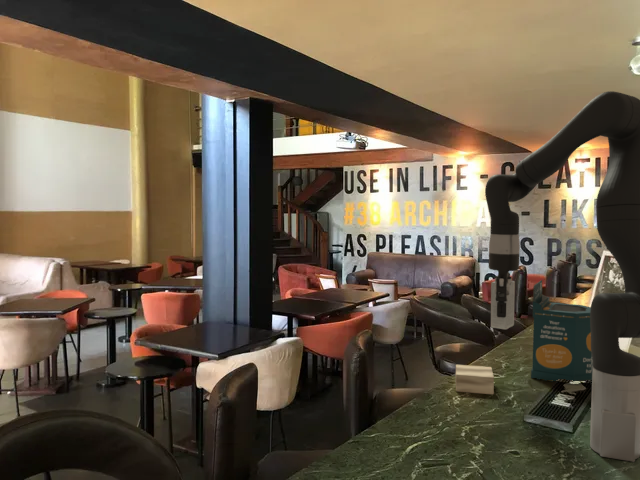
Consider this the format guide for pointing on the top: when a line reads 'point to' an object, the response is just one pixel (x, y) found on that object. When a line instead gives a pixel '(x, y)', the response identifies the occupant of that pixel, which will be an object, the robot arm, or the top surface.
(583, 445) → the top surface
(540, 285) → the donation box
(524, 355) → the top surface
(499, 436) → the top surface
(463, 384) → the birch block
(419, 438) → the top surface
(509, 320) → the skincare box
